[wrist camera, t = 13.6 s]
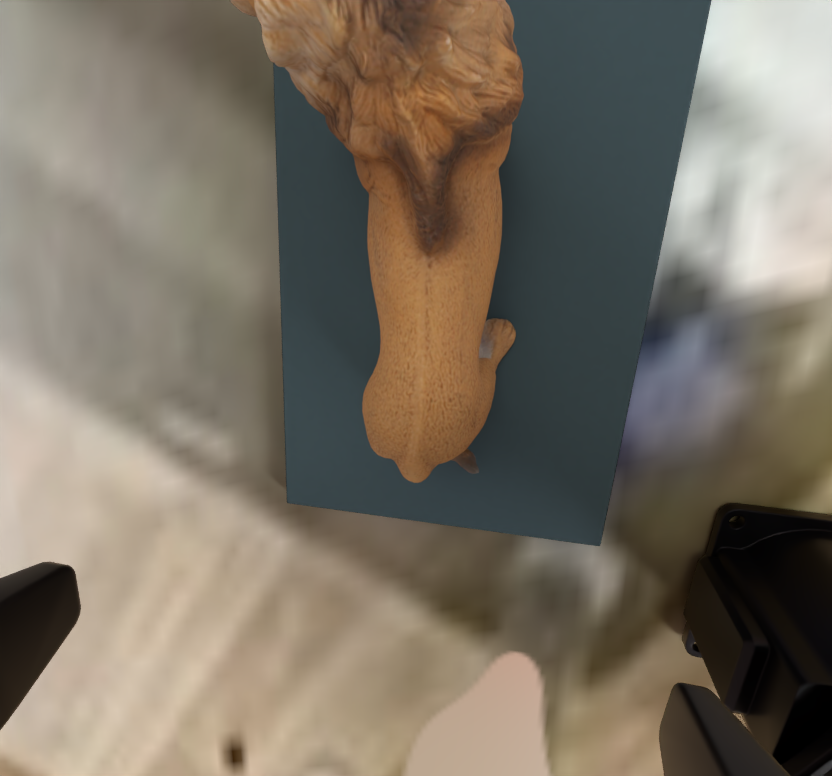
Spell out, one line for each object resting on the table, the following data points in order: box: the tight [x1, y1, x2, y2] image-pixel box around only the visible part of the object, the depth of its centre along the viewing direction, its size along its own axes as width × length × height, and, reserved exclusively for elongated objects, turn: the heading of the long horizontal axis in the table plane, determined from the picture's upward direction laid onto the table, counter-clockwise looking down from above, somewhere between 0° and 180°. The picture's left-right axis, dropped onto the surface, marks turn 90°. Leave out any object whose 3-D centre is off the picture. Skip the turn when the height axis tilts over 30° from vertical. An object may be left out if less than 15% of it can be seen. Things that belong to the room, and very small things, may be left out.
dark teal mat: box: [273, 0, 711, 546], centre depth 17 cm, size 12×20×1 cm, turn 177°
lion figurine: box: [230, 0, 524, 483], centre depth 13 cm, size 15×5×9 cm, turn 10°
